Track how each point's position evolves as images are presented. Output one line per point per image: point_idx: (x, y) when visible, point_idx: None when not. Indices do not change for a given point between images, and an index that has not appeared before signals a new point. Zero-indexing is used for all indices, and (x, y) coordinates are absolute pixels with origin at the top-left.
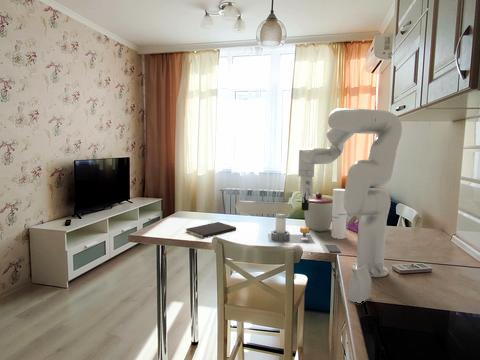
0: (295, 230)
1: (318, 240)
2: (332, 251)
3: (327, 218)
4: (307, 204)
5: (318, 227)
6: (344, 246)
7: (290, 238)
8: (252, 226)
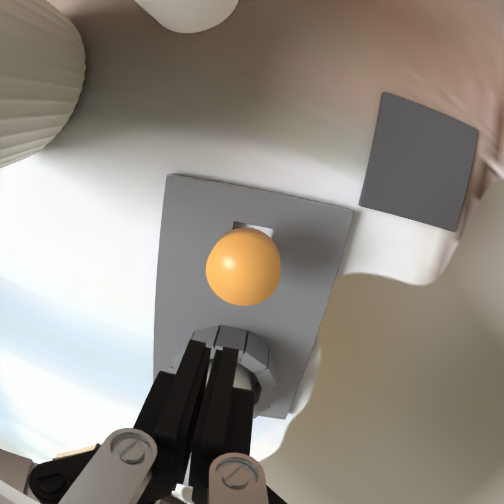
0: (52, 222)
1: (255, 144)
2: (469, 170)
3: (47, 17)
4: (226, 429)
5: (74, 90)
6: (389, 45)
7: (235, 321)
8: (37, 384)
